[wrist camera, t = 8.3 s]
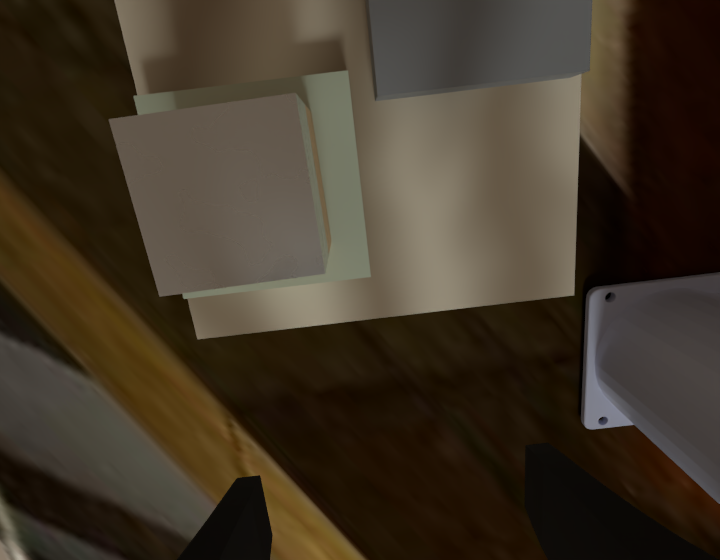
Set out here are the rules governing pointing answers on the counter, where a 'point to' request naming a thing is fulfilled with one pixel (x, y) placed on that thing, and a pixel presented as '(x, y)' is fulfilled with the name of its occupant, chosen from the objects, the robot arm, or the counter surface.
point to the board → (389, 164)
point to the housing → (227, 193)
